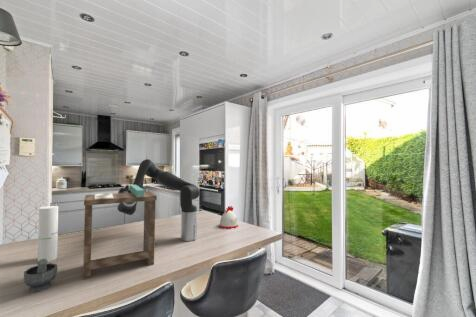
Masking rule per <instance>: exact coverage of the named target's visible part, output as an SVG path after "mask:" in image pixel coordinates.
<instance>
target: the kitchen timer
mask: <svg viewBox="0 0 476 317" xmlns="http://www.w3.org/2000/svg"><path fill="white" fill-rule="evenodd" d="M236 215H237V214H235V213H234V207H233V206H232V205H231V206H230V205H229V206H227V207H226V209H225V210H224V213H222V215H221V216H220V221H219V228H221V229H224V228H226V229H225V230H232V229H231V228H234V229H237V228H238V227H239V222H238V218H237V216H236ZM236 227H237V228H236Z"/></svg>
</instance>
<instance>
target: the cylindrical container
mask: <svg viewBox="0 0 476 317" xmlns="http://www.w3.org/2000/svg"><path fill="white" fill-rule="evenodd" d="M38 210H39V211H38V235H37V236H38V240H37V241H38V243H37V262H38V261H39V260H41V259H47V261H48V263H50V262H52V261H55V260H56V259H57V258H58V238H59V235H58V234H59V232H58V231H59V205H47V206H41V207H39V209H38Z"/></svg>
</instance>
